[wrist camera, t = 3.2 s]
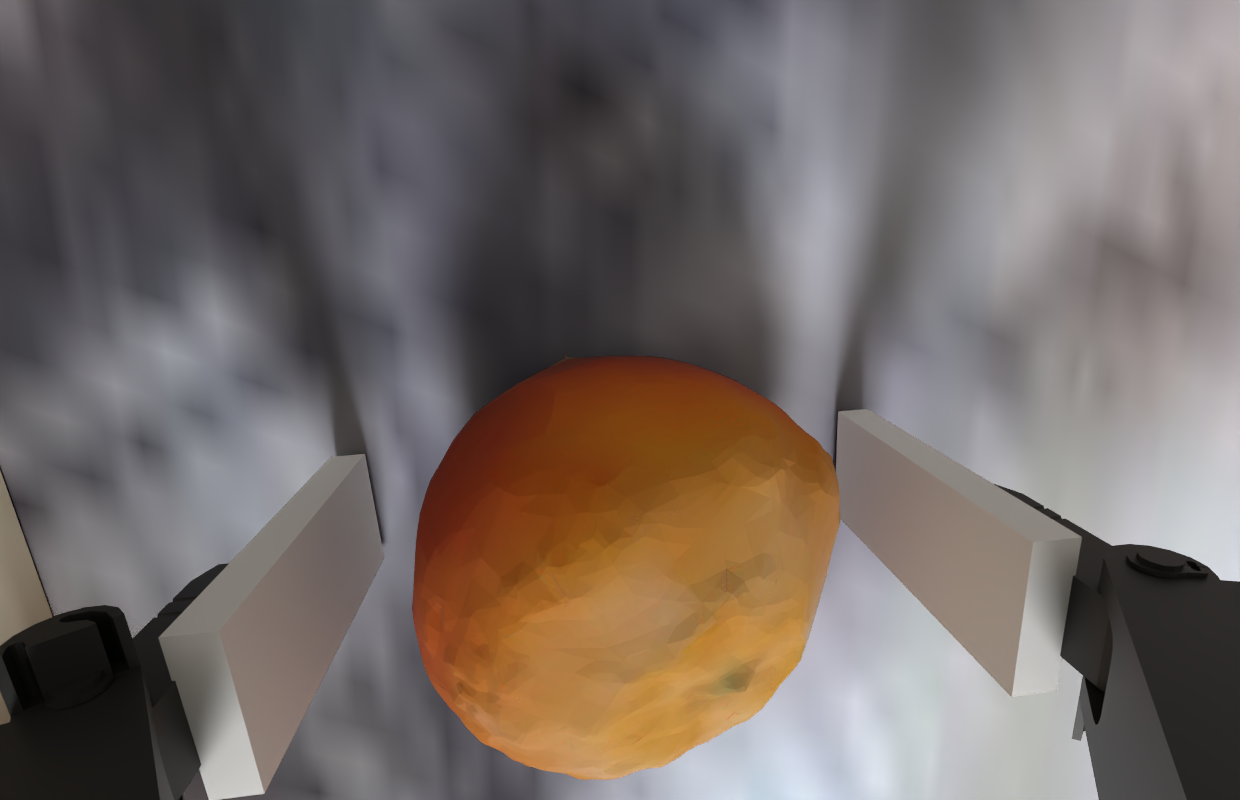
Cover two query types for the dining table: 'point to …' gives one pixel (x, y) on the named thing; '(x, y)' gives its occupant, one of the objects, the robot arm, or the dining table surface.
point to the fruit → (620, 562)
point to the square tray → (16, 582)
